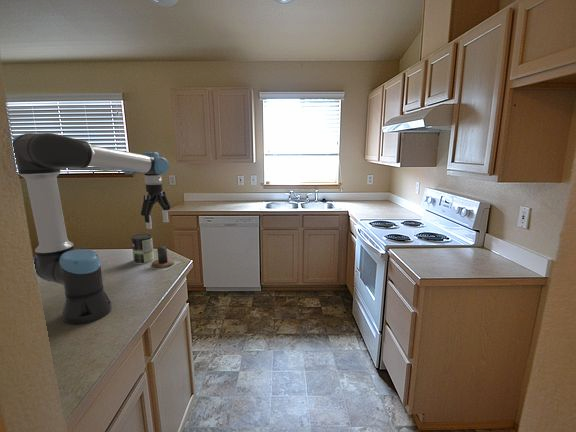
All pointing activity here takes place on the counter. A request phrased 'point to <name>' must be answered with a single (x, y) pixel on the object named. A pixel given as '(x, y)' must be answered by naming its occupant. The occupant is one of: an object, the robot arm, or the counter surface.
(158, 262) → the lid
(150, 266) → the mat
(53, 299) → the counter surface
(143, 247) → the coffee can
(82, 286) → the robot arm
